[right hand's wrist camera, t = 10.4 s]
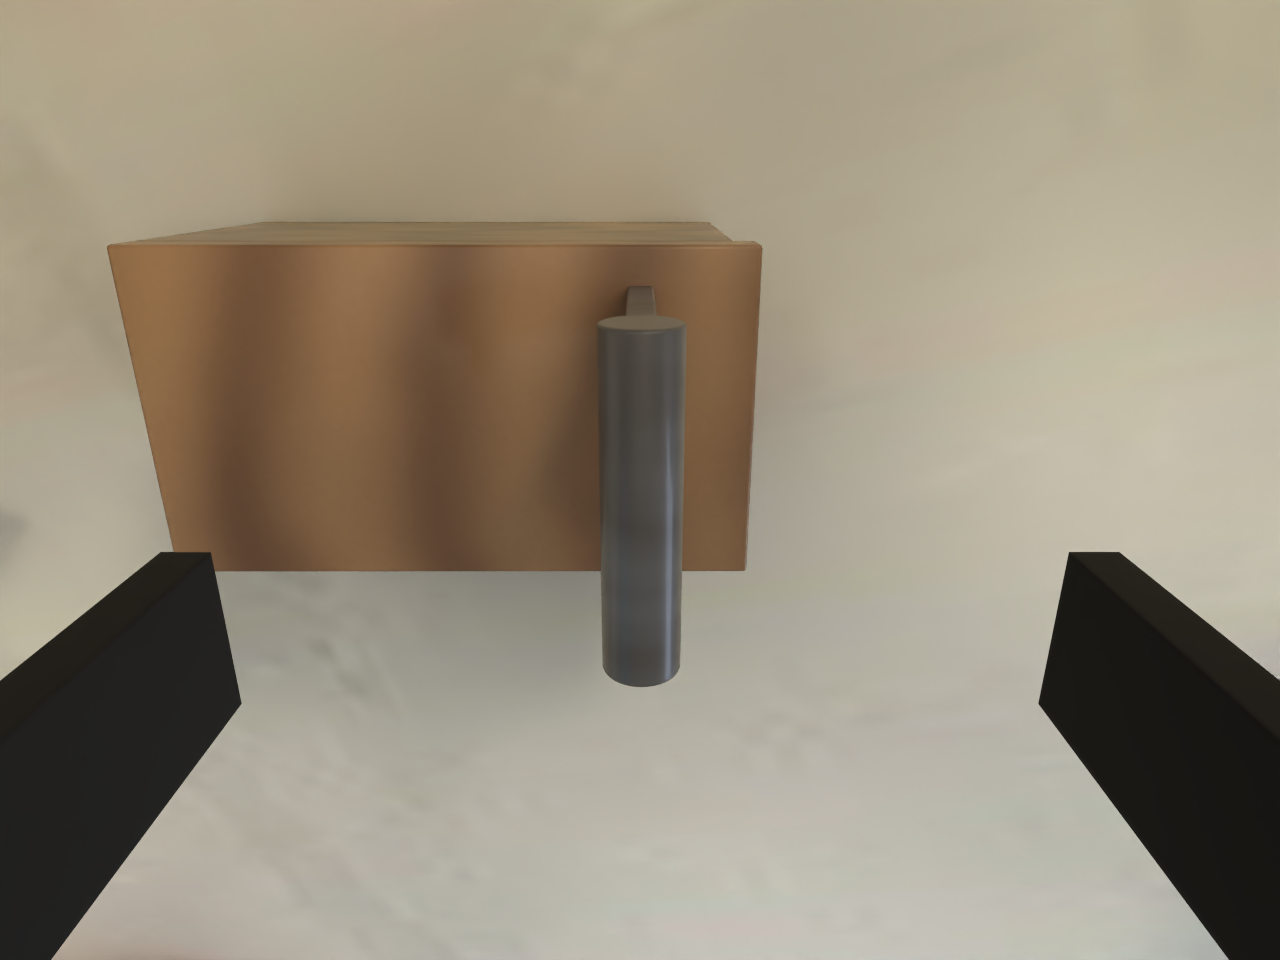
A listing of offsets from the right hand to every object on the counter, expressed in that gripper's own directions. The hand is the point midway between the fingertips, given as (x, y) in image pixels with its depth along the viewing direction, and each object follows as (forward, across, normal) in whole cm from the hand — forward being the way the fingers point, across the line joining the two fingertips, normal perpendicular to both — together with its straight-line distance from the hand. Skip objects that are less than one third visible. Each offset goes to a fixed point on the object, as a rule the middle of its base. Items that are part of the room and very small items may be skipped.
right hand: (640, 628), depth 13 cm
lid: (+12, -5, 0) cm, 14 cm away
